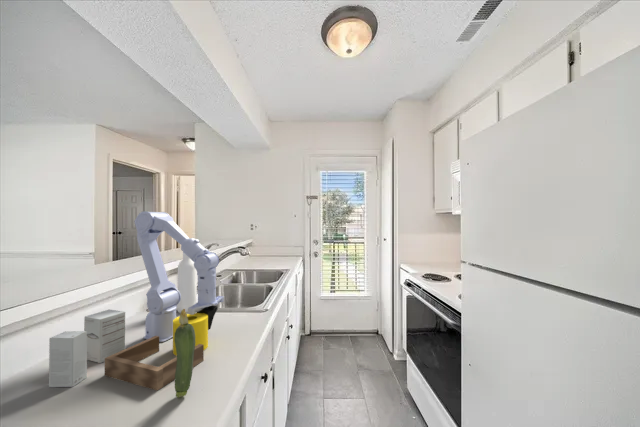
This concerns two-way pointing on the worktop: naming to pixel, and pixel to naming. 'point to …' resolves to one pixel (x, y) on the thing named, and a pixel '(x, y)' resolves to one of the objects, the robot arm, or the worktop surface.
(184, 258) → the bottle
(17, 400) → the worktop surface
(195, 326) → the tape roll
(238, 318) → the worktop surface
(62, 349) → the skincare box
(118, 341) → the supplement box
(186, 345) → the vegetable
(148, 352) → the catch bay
